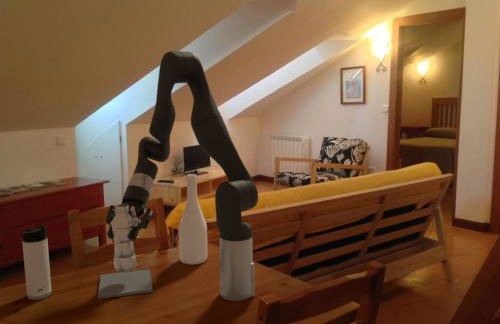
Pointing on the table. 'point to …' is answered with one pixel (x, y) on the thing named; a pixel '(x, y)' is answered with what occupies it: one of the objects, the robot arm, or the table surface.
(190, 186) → the wine bottle
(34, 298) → the travel mug
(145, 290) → the slate mat
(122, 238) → the plastic bottle
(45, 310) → the table surface
